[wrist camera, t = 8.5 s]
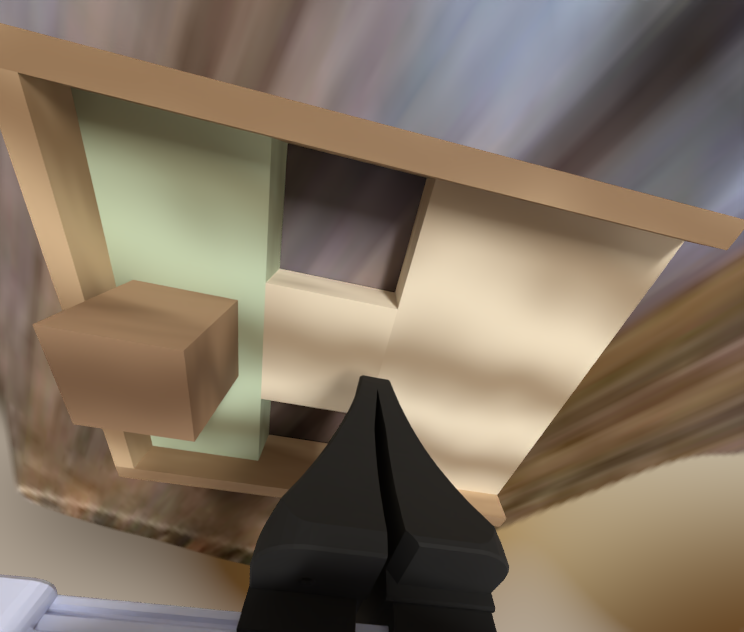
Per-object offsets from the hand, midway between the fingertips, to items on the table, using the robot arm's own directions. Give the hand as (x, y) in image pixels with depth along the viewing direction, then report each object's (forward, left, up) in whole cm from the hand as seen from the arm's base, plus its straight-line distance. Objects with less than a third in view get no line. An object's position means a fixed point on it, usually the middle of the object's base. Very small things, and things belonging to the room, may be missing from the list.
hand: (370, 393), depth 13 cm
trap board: (0, +1, -4) cm, 4 cm away
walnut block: (0, +9, -2) cm, 9 cm away
